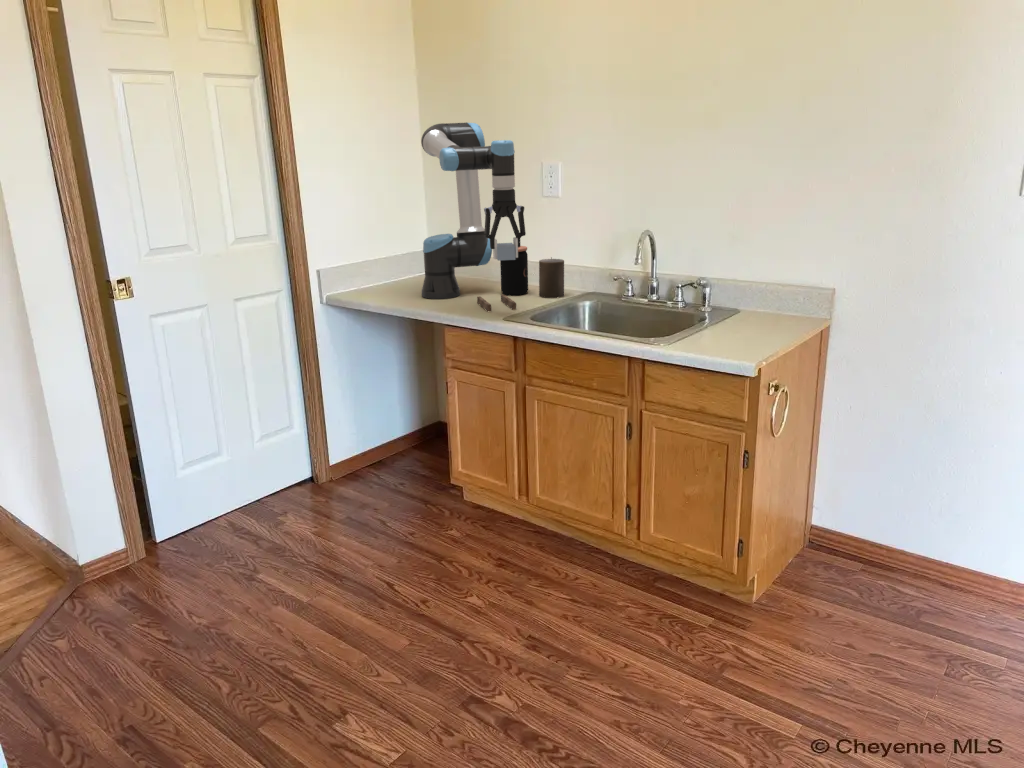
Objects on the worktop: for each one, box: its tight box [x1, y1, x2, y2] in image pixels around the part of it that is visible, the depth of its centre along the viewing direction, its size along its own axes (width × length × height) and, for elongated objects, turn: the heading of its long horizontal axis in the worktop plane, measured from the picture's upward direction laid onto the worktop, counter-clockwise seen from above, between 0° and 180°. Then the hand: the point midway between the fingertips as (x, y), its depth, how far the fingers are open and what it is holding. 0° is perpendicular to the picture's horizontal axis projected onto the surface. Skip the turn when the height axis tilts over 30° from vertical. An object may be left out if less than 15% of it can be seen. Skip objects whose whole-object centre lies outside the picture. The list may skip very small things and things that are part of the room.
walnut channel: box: [476, 293, 517, 312], centre depth 288 cm, size 16×10×2 cm, turn 16°
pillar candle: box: [538, 256, 565, 299], centre depth 302 cm, size 10×10×15 cm
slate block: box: [496, 242, 516, 261], centre depth 270 cm, size 9×6×4 cm, turn 7°
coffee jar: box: [499, 245, 529, 297], centre depth 308 cm, size 11×11×18 cm
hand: (505, 257), depth 269 cm, fingers closed on slate block, 7 cm apart
